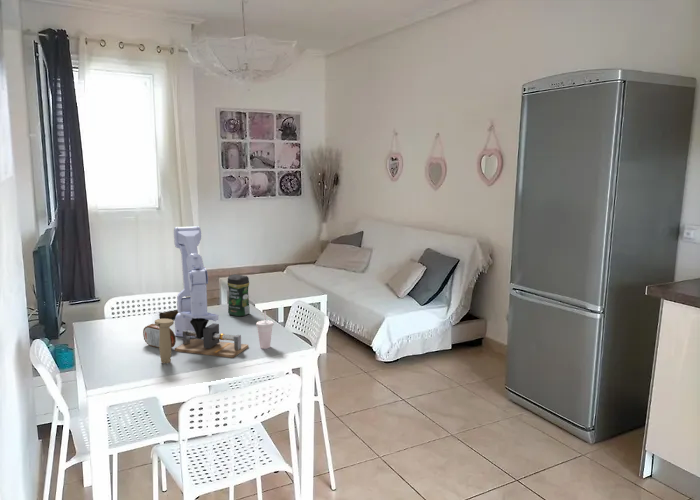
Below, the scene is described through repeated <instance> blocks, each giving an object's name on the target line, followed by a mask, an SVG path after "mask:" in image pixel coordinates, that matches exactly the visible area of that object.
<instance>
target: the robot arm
mask: <svg viewBox="0 0 700 500" xmlns="http://www.w3.org/2000/svg"><path fill="white" fill-rule="evenodd" d="M173 239H174V246H175V248H177V249H179V250H180V255H181V269H182V281H183V283H182V285H183V289H181V291H179V292H178V293H177V295H176V308H177V309H176V310H178V312H179V313H178V314H177V315H176V317H174V329H175V333H174V334H175V337H182V338H183V331H184V330H186V329H187V330H190V331H195V332H196V335H197V337H194V336H190V339H201V340H202V339H203V329H204V328H205V327H207V326H208V325H207V324H208V323H209V321H213V322H216V321H219V314H216V313H211V312H208V294H207V293H208V291H207V289H208V288H207V286H208V284H209V275H208V270H207V268H206V266H204V261H203V257H202V255H201V254H199V251H198V246H199V245H200V242H201V239H202V230H201V227H200V226H199V225H197V226H196V225H195V226H175V227H174V228H173Z"/></svg>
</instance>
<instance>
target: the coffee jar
mask: <svg viewBox="0 0 700 500" xmlns="http://www.w3.org/2000/svg"><path fill="white" fill-rule="evenodd" d="M249 286H250V278H249V276H247V275H242V274H235V273H234V274H231V275H228V277H227V288H228V304H227V305H228V306H227V307H228V308H227V311H228V312H227V313H228V314H229V315H231V316H235V317H244V316H245V317H246V316H248V315H249V314H250V313H251V312H250V311H251V310H250V301H249V300H250V299H249V298H250V297H249Z"/></svg>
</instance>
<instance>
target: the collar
mask: <svg viewBox="0 0 700 500" xmlns="http://www.w3.org/2000/svg"><path fill="white" fill-rule="evenodd" d="M212 333H217V334H220V324H219V323H211V324H209V325H206V327H205V328H204V329H203V338H202V340H203V343H204V348H211V347H213V346H214V345H216V344H217V343H219V342H220V339H212Z"/></svg>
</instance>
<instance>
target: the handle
mask: <svg viewBox="0 0 700 500" xmlns="http://www.w3.org/2000/svg"><path fill="white" fill-rule="evenodd" d="M154 324H155V325H156V326H158V327H159V348H158V350H159V357H160V362H161V363H162V364H163V365H164V364H170V363H171V362H172V358H171V357H172V348H171V339H170V329H171V328H170V327H172V326H173V325H175V320H173V318H170V319H160V318H158V319H155V320H154Z"/></svg>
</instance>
